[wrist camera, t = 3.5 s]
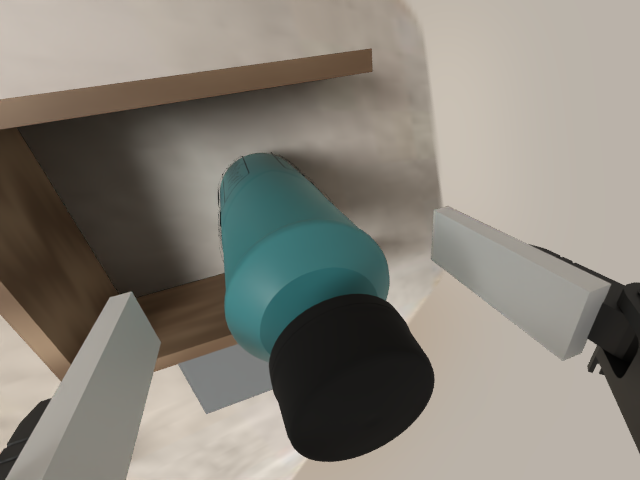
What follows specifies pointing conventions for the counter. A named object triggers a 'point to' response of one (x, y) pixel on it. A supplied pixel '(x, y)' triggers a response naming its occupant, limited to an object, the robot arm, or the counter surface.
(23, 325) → the wooden u-frame
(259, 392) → the mat
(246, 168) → the beverage bottle
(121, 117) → the counter surface
